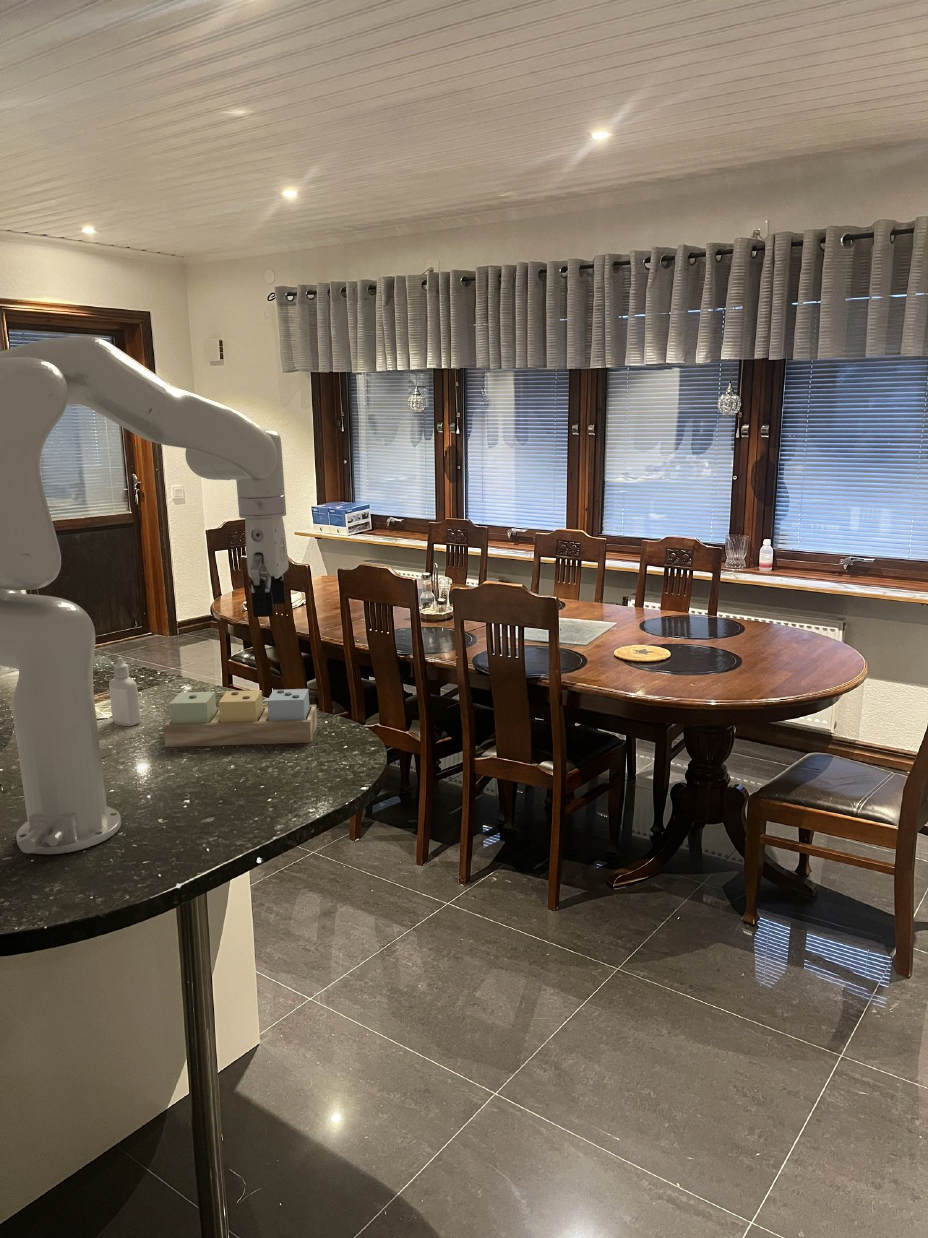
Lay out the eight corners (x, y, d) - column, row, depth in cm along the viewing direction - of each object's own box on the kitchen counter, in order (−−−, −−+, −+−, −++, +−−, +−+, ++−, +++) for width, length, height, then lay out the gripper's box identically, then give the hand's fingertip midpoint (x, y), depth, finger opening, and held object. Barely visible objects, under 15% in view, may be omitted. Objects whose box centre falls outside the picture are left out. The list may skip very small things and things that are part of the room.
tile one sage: (208, 723, 148) (206, 701, 148) (171, 724, 148) (169, 702, 147) (216, 712, 154) (214, 690, 153) (181, 713, 154) (179, 691, 153)
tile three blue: (304, 720, 149) (303, 698, 148) (268, 721, 149) (267, 699, 148) (309, 709, 155) (308, 687, 154) (274, 710, 155) (273, 688, 154)
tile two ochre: (256, 722, 149) (255, 699, 148) (220, 723, 148) (218, 701, 148) (263, 710, 154) (261, 689, 154) (228, 711, 154) (226, 690, 153)
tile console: (310, 742, 148) (309, 721, 147) (165, 747, 147) (163, 726, 147) (317, 724, 157) (316, 704, 156) (179, 728, 156) (178, 708, 155)
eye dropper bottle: (115, 729, 156) (108, 663, 154) (112, 720, 161) (105, 656, 159) (141, 725, 158) (135, 660, 156) (137, 716, 163) (130, 652, 160)
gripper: (274, 512, 136) (282, 621, 140) (295, 501, 153) (301, 598, 157) (225, 514, 136) (234, 622, 140) (251, 502, 153) (259, 599, 157)
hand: (270, 609), depth 149 cm, fingers open, 9 cm apart
